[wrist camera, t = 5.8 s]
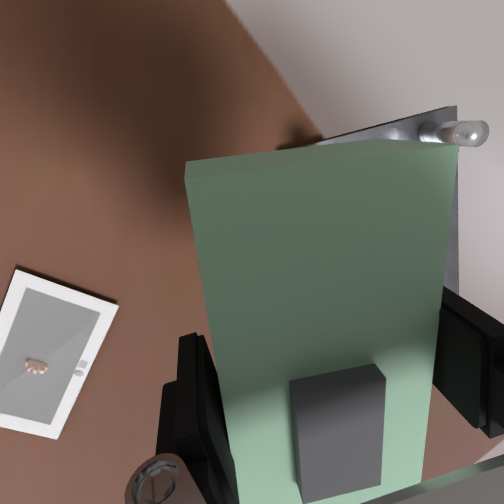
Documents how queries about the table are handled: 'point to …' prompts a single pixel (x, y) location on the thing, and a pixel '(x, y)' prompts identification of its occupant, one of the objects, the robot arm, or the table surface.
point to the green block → (324, 311)
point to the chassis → (437, 131)
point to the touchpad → (46, 351)
